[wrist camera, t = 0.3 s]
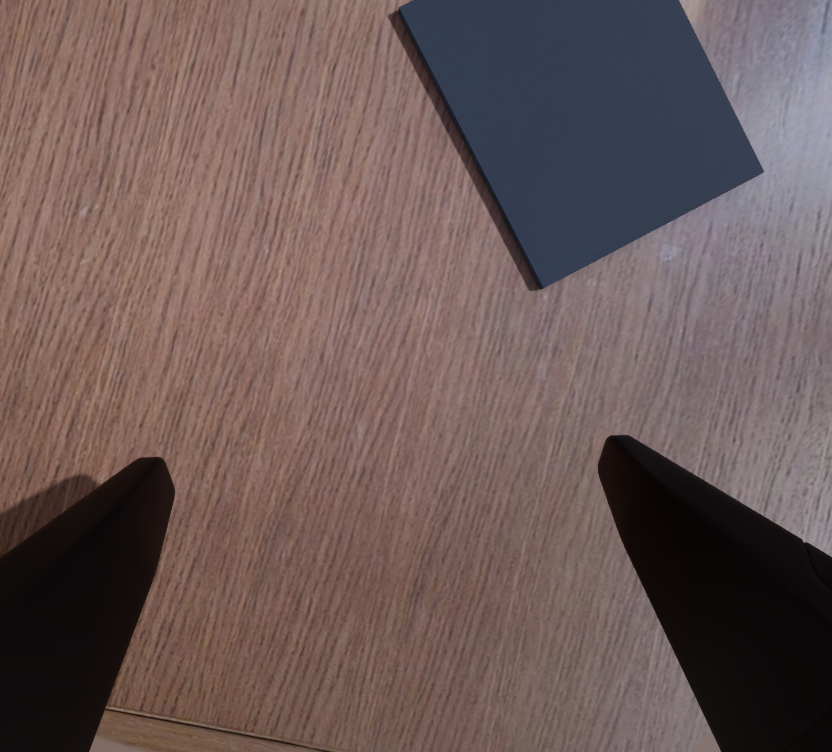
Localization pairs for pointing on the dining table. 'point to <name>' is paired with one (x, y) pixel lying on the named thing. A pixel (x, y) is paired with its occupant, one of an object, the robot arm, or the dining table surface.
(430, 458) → the dining table surface
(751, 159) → the book
